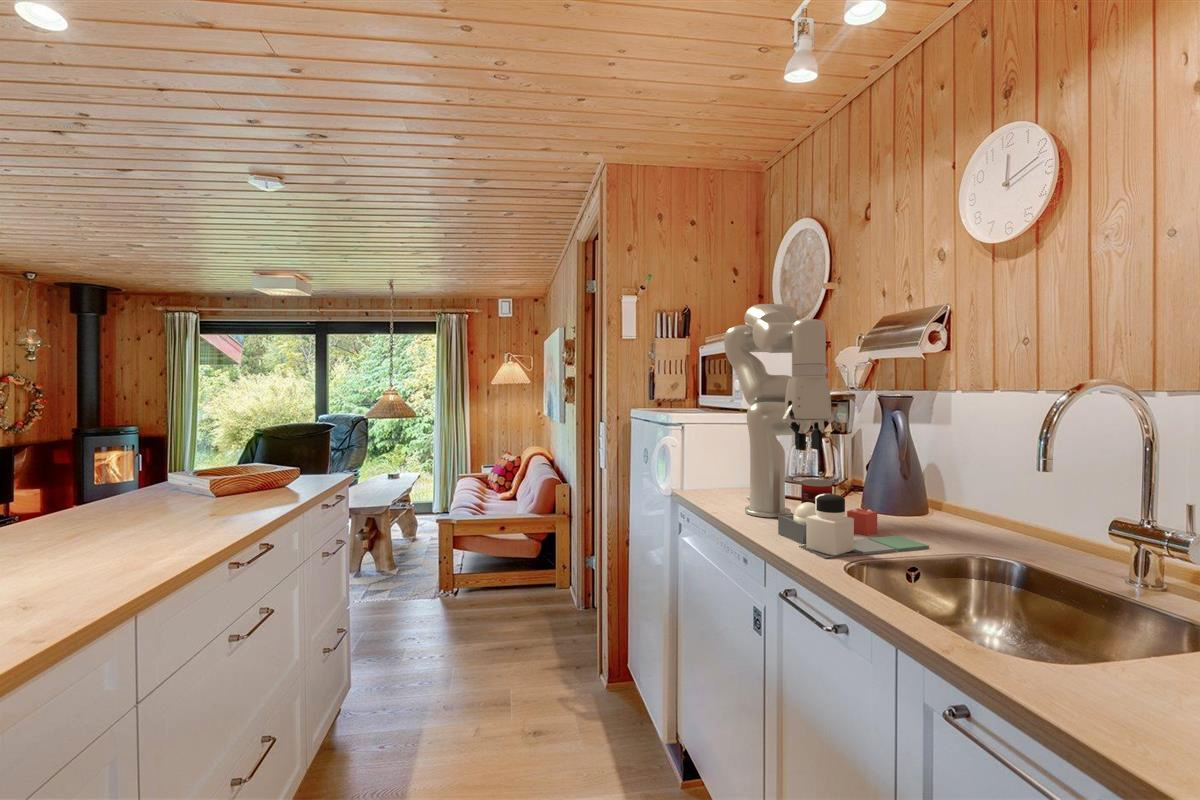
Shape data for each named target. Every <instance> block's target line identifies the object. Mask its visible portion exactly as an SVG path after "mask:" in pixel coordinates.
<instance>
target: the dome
mask: <svg viewBox="0 0 1200 800" xmlns="http://www.w3.org/2000/svg"><path fill="white" fill-rule="evenodd" d="M793 515H794V520H795V521H798V522H801V523H803V524H807V517H808V516H813V515H817V514H816V513H815V504H814V503H810V502H805V503H802V504H801V503H799V505H797V507H796V509H795V511H794V514H793Z"/></svg>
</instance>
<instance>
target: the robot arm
mask: <svg viewBox="0 0 1200 800" xmlns="http://www.w3.org/2000/svg"><path fill="white" fill-rule="evenodd" d="M797 316H798V315H797V311H796V310H795V308H794V307H793V306H791V305H790V304H787V303H786V304H785V303H773V304H772V303H758V304H754V305H753V306H750V307H749V308H748V309H747V310H746V312H745V313H744V319H743V320H744V323H745V324H739V325H736V326H732V327H730V328H729V329H728V330H726V332H725V334H724V339H723V340H724V341H723V344H724V345H723V346H724V352H725V355H726V358H727V360H728V362H729V364H730V365H731V367H732V368H733V370H734V371H735V374H736V375H737V378H738V381H739V384H740V388H741V391H742V394H743V396H744V400H745V401H746V402H747V404H748V405H749V407H748V409H747V411H746V423H747V430H748V437H749V438H748V439H749V464H750V465H749V468H750V469H749V470H750V471H749V476H750V477H749V479H750V481H749V485H750V488H749V491H750V492H749V493H750V494H749V495H748V496H747V497H746V499H747V501H749V505H747V506H745V507H744V513H746V514H747V515H750V516H754V517H761V518H778V516H781V515H782V516H784V515H792V511H791V508H789V507H787V506H786V453H785V448H784V446H783V445H782V444H781V442H780V441H779V440H778V438H777V436H794V446H795V450H798V451H806V450H807V434H806V433H807V432H808V431H809V430H810V428H811V425H812V430H813V431H811V433H810V444H811V445H810V448H811V449H812V450H818V451H821V450H822V448H823V433H825V431H826V428H827V427H828V426H829V425H830V424H832V423H833V422H834V421H835V420H836V419H835V416H834V414H833V413H832V400H831V399H832V398H831V397H832V396H831V389H830V383H829V379H828V377H826V376H827V374H828V373H829V372H830V368H829V367H827V366H826V365H827V364H826V363H827V362H826V361H827V360H826V359H827V358H826V353H827V352H826V351H827V350H826V349H827V348H826V344H827V342H826V324H825V322H824V321H823V320H821V319H817V318H816V319H811V318H809V319H801V320H798V317H797ZM752 353H768V354H788V353H790V354H791V376H790V375H788V374H787V375H786V374H770V373H768V371H767V370H766V369H767V368H766V366H765V365H764V363H763V362H762V361H761V360H760V359H759V358H758V357H757V356H756V355H754V354H752Z"/></svg>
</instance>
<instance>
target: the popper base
mask: <svg viewBox="0 0 1200 800" xmlns="http://www.w3.org/2000/svg"><path fill="white" fill-rule="evenodd" d="M777 518H778V519H777V520H778V521H777V523H778V524H777V526H778V527H777V530H778V531H777V532H778V533H777V534H778V535H779V534H780V536H782V535H783V536H782V537H784V536H785V537H784V538H786V537H787V539H789V538H790V539H789V540H791V539H792V540H791V541H793V540H794V541H793V542H795V541H796V543H798V542H799V543H798V544H800V543H801V544H800V545H802V544H806V545H807V524H803V523H801V522H798V521H795V520H794V514H790V515H784V516H782V515H781V516H778V517H777Z"/></svg>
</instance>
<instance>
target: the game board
mask: <svg viewBox="0 0 1200 800" xmlns="http://www.w3.org/2000/svg"><path fill="white" fill-rule="evenodd" d="M798 547H799V548H800V547H801V548H800V549H802V548H803V549H802V550H804V549H805V551H807V552H809V553H811V554H813V553H814V554H813V555H815V554H816V556H818V557H820V558H822V559H825V560H827V559H837V558H838V559H839V558H847V557H849V556H850V557H856V556H866V555H867V554H868V555H874V553H877V554H885V553H896V552H906V551H914V550H925V549H926V550H927V549H930V545H928V544H926V543H922V542H919V541H916V540H912V539H910V538H908V537H907V538H906V537H903V536H901V535H897V534H896V535H888V536H879V537H869V538H857V539H855V538H854V550H853V551H849V552H851V553H847V554H846V553H845V554H839V555H836V556H834V555H828V556H827V555H824V554H822V553H820V552H818V551H815V550H811V549H807V544H806V545H799V546H798Z"/></svg>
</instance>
